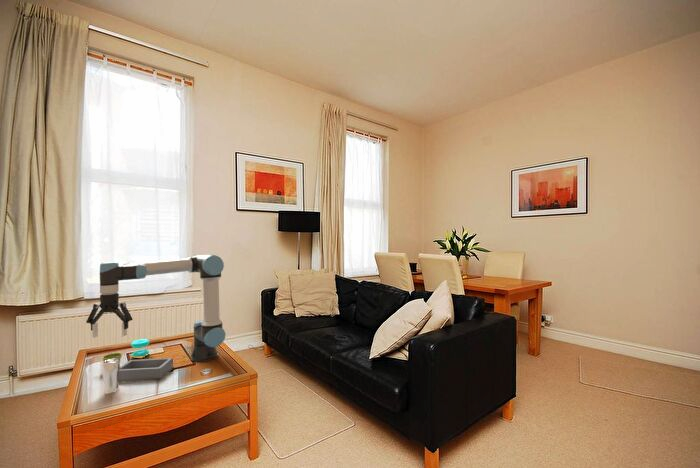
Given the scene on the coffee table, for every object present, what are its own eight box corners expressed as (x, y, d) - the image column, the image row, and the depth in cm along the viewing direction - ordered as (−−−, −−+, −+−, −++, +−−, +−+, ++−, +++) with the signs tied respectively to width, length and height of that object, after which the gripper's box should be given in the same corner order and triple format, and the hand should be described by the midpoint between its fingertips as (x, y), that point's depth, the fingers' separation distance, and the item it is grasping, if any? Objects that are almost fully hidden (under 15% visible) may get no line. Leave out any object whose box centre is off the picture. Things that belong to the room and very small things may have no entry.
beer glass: (108, 388, 166) (108, 358, 166) (123, 387, 166) (122, 357, 166) (99, 395, 159) (98, 363, 159) (114, 394, 159) (114, 363, 160)
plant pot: (126, 368, 191) (126, 353, 191) (109, 375, 182) (109, 359, 182) (114, 366, 194) (114, 352, 194) (98, 373, 185) (97, 357, 185)
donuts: (135, 344, 204) (128, 341, 210) (135, 360, 204) (128, 357, 209) (152, 340, 212) (145, 337, 218) (152, 355, 212) (145, 352, 218)
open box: (173, 368, 190) (172, 357, 190) (160, 379, 175) (160, 368, 175) (130, 370, 188) (130, 360, 188) (113, 382, 173) (113, 370, 173)
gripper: (140, 291, 168) (140, 333, 168) (87, 292, 166) (88, 335, 166) (131, 293, 161) (132, 337, 161) (77, 295, 159) (77, 339, 159)
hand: (109, 336), depth 163 cm, fingers open, 13 cm apart
